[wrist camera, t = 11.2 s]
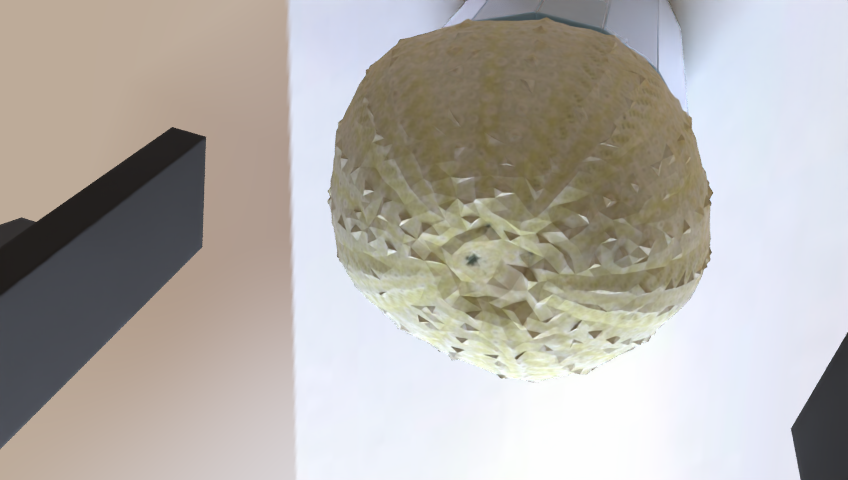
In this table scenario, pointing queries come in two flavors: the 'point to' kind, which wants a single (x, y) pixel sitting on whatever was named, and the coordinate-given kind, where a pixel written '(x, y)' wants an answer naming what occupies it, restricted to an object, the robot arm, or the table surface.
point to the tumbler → (603, 27)
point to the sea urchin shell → (520, 196)
